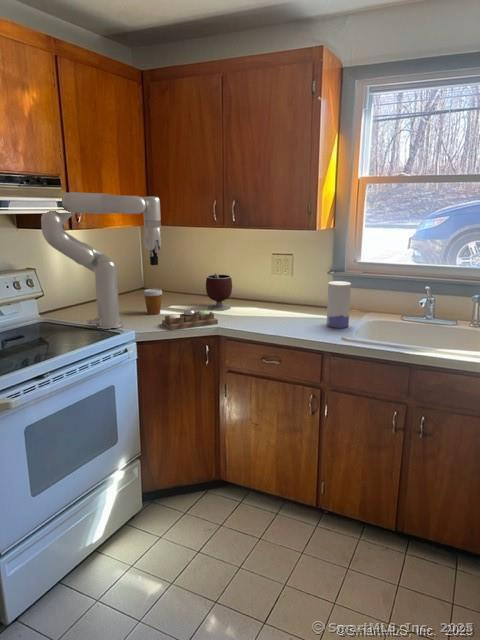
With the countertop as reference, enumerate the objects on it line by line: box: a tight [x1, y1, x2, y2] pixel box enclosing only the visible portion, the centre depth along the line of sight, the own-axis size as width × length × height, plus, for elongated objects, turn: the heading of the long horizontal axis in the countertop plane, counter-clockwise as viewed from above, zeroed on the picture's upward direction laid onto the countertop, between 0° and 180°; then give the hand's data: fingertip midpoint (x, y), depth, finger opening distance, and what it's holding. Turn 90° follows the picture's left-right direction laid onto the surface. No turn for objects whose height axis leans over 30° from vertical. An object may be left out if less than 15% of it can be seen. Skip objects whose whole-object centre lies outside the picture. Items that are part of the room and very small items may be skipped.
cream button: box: [169, 313, 180, 319], centre depth 217 cm, size 5×5×2 cm
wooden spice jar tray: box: [161, 311, 219, 331], centre depth 221 cm, size 23×12×4 cm, turn 119°
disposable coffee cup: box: [142, 288, 163, 316], centre depth 240 cm, size 10×10×12 cm
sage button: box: [198, 310, 211, 315], centre depth 224 cm, size 5×5×2 cm
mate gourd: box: [205, 273, 233, 312], centre depth 250 cm, size 16×14×20 cm
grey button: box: [183, 309, 196, 317], centre depth 220 cm, size 5×5×2 cm
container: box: [326, 280, 352, 329], centre depth 217 cm, size 10×10×20 cm
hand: (154, 264), depth 219 cm, fingers closed
